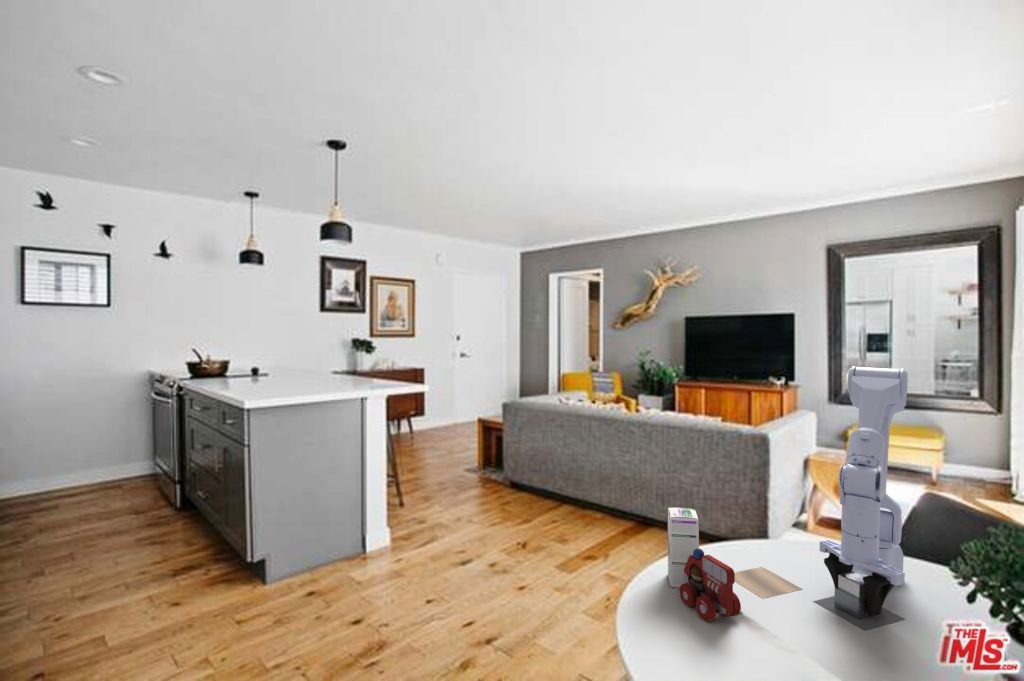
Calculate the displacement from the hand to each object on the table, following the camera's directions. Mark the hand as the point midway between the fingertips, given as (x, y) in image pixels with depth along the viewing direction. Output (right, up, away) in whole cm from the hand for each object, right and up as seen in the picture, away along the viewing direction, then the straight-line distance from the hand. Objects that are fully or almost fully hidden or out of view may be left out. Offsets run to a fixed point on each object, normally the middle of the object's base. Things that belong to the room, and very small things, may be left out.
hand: (857, 606), depth 97 cm
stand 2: (0, -2, 0) cm, 2 cm away
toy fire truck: (-26, -2, +3) cm, 26 cm away
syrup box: (-27, -2, +13) cm, 31 cm away
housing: (0, -1, 0) cm, 1 cm away
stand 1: (-12, -2, +10) cm, 16 cm away
